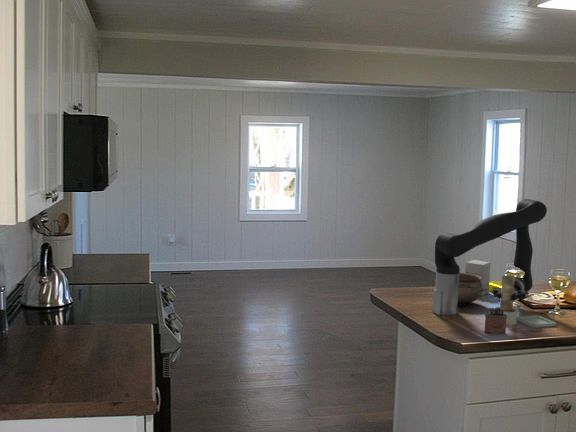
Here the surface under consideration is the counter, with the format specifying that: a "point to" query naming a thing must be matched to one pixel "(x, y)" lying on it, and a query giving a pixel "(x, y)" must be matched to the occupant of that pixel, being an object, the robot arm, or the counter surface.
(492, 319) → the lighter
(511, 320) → the crock
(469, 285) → the brown wooden bowl
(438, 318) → the counter surface
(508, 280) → the pestle
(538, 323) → the tray
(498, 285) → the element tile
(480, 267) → the supplement box
